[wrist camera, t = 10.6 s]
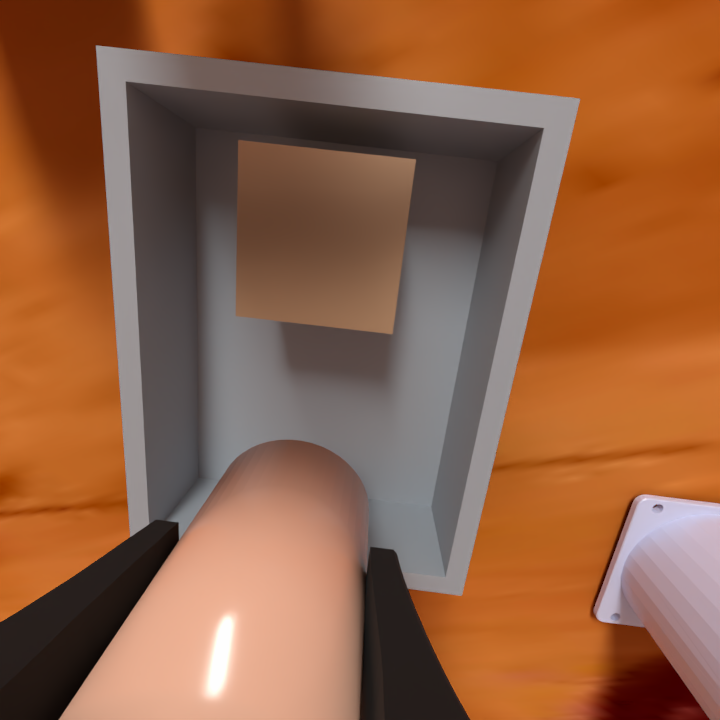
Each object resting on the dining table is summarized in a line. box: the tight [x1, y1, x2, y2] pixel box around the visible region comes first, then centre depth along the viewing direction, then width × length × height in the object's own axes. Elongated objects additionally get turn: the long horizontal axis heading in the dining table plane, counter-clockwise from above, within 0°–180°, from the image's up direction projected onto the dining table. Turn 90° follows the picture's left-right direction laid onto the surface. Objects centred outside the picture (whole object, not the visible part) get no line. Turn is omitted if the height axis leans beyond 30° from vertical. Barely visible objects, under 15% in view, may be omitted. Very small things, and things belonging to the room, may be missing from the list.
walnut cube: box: [236, 140, 416, 334], centre depth 14 cm, size 5×5×5 cm
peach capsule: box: [59, 440, 369, 720], centre depth 9 cm, size 5×5×7 cm
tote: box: [96, 45, 580, 596], centre depth 16 cm, size 14×18×5 cm
